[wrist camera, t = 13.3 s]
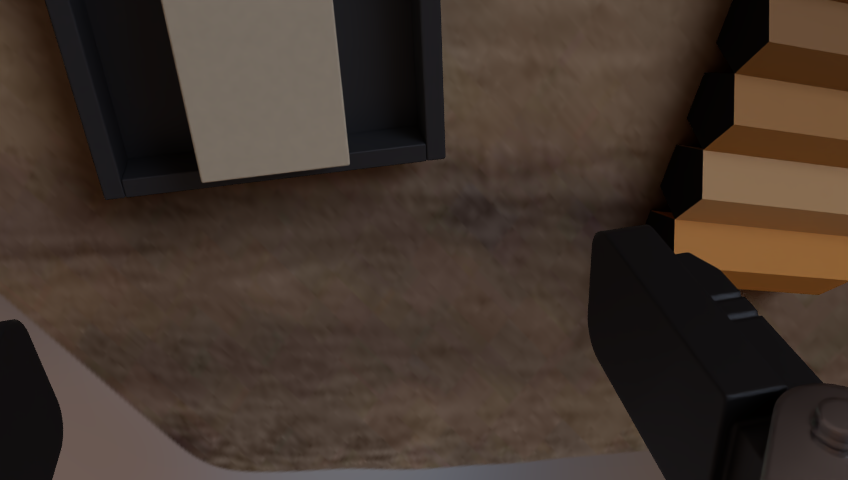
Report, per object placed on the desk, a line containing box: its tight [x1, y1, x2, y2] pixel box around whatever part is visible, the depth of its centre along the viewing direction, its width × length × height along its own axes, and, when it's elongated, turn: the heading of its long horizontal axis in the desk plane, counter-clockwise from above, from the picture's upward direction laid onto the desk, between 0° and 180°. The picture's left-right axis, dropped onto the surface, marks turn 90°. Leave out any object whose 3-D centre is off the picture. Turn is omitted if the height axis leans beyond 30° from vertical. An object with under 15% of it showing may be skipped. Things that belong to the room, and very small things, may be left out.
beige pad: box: [161, 0, 350, 183], centre depth 28 cm, size 6×8×4 cm
